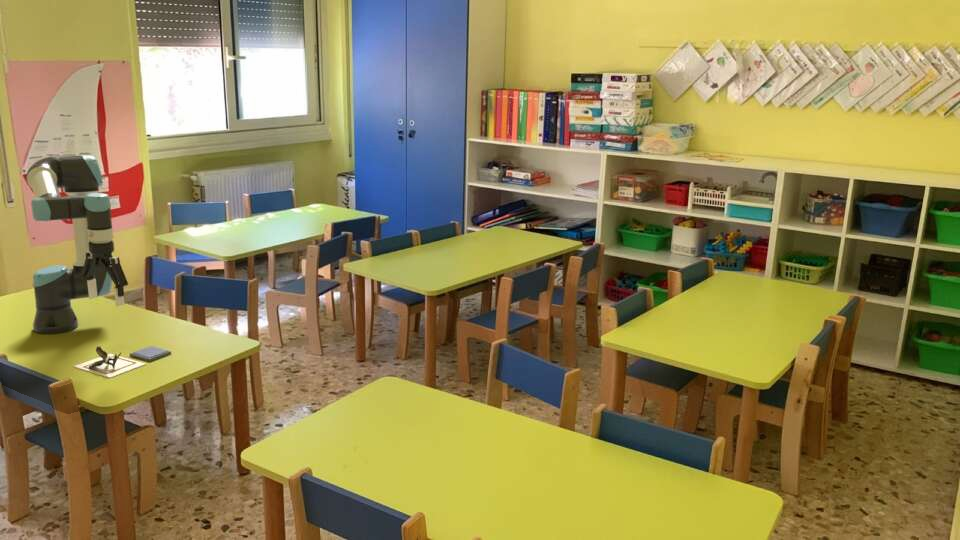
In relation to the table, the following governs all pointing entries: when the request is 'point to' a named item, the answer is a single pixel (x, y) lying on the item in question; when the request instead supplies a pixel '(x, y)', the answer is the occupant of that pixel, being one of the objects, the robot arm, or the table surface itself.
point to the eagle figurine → (104, 358)
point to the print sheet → (110, 366)
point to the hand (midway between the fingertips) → (106, 301)
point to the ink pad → (150, 353)
